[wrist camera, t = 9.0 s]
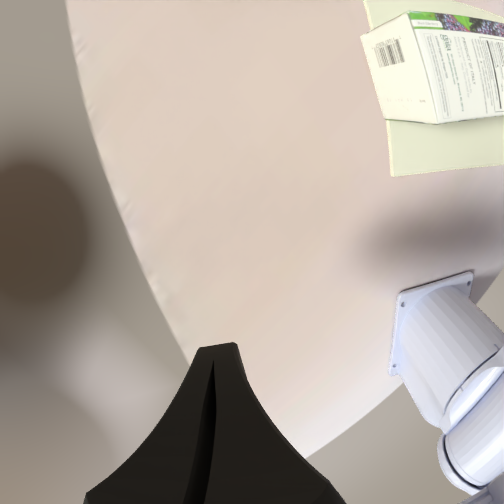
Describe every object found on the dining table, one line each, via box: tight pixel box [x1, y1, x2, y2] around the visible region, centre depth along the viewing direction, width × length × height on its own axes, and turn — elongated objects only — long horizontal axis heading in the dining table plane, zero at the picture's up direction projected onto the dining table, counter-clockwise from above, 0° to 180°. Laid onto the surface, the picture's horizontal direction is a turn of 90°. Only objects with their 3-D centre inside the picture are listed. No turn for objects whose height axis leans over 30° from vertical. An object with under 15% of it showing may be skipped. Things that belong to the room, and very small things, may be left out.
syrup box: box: [360, 11, 504, 125], centre depth 13 cm, size 6×6×14 cm
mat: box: [363, 0, 504, 177], centre depth 16 cm, size 13×16×1 cm
